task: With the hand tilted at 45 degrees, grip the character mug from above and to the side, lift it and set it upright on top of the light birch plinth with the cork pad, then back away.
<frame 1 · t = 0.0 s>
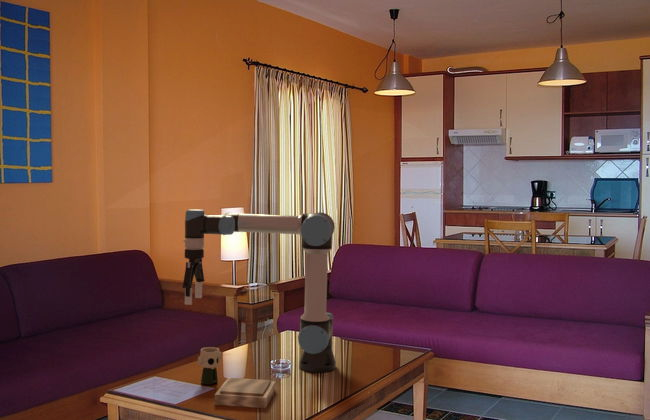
hand: (193, 301, 269), 28 cm above the table, tool pointing down, fingers open, 13 cm apart
character mug: (209, 383, 255), on the table
birch plinth: (245, 397, 240), on the table
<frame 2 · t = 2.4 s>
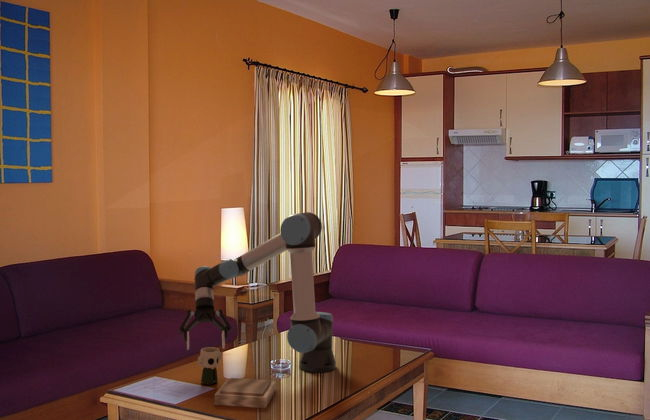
hand: (206, 347, 260), 12 cm above the table, tool tilted 45°, fingers open, 13 cm apart
nothing on the table moved.
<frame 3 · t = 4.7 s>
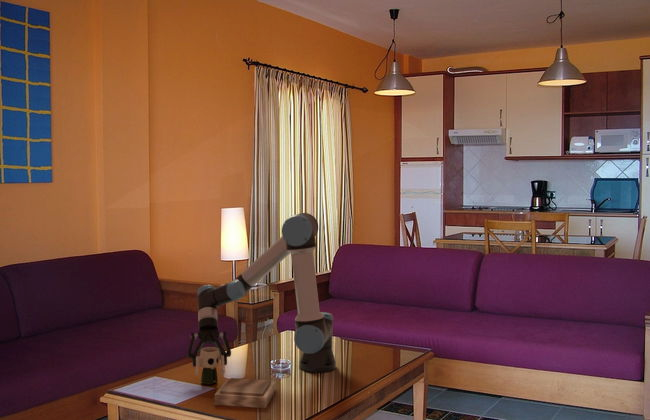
hand: (210, 373, 251), 5 cm above the table, tool tilted 45°, fingers closed on character mug, 9 cm apart
character mug: (209, 383, 255), on the table, touching gripper
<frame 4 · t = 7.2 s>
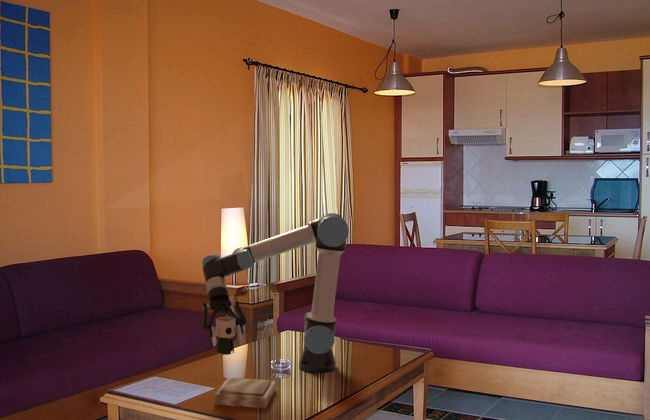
hand: (228, 343, 242), 19 cm above the table, tool tilted 45°, fingers closed on character mug, 9 cm apart
character mug: (225, 354, 246), point 14 cm above the table, touching gripper
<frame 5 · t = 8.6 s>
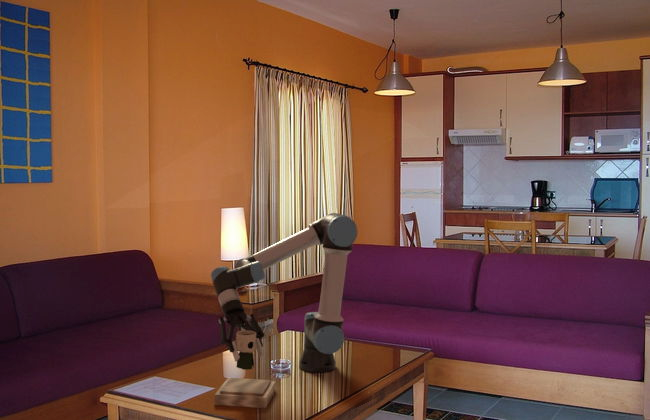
hand: (249, 357, 236), 15 cm above the table, tool tilted 45°, fingers closed on character mug, 9 cm apart
character mug: (245, 369, 239), point 10 cm above the table, touching gripper
when the fingers open (10 cm above the table, at t = 9.9 s): character mug drops 1 cm, resting on birch plinth.
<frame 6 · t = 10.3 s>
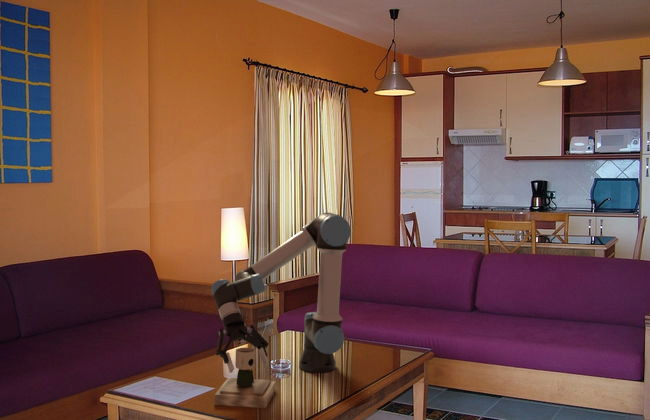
hand: (249, 368, 238), 11 cm above the table, tool tilted 45°, fingers open, 13 cm apart
character mug: (245, 386, 239), point 4 cm above the table, touching birch plinth
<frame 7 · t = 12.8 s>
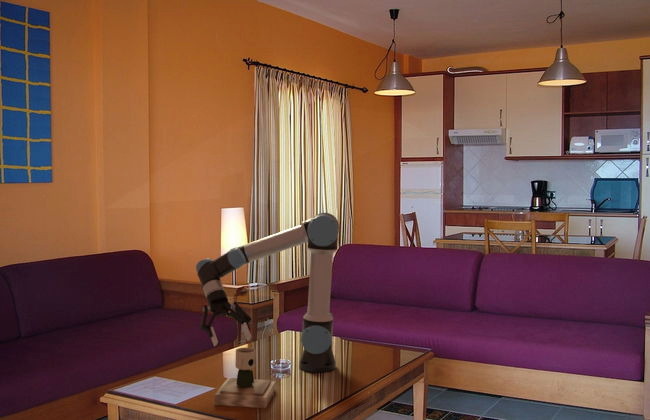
hand: (233, 341, 248), 18 cm above the table, tool tilted 45°, fingers open, 13 cm apart
nothing on the table moved.
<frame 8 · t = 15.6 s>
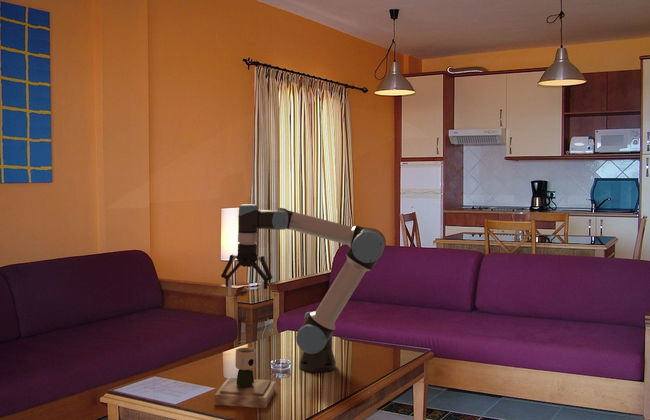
hand: (246, 296, 268), 31 cm above the table, tool pointing down, fingers open, 13 cm apart
nothing on the table moved.
at the end: character mug inside the target area on the birch plinth (0.6 cm from its centre), point 4.2 cm above the birch plinth's base; character mug tilted 0°; the gripper is holding nothing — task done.
